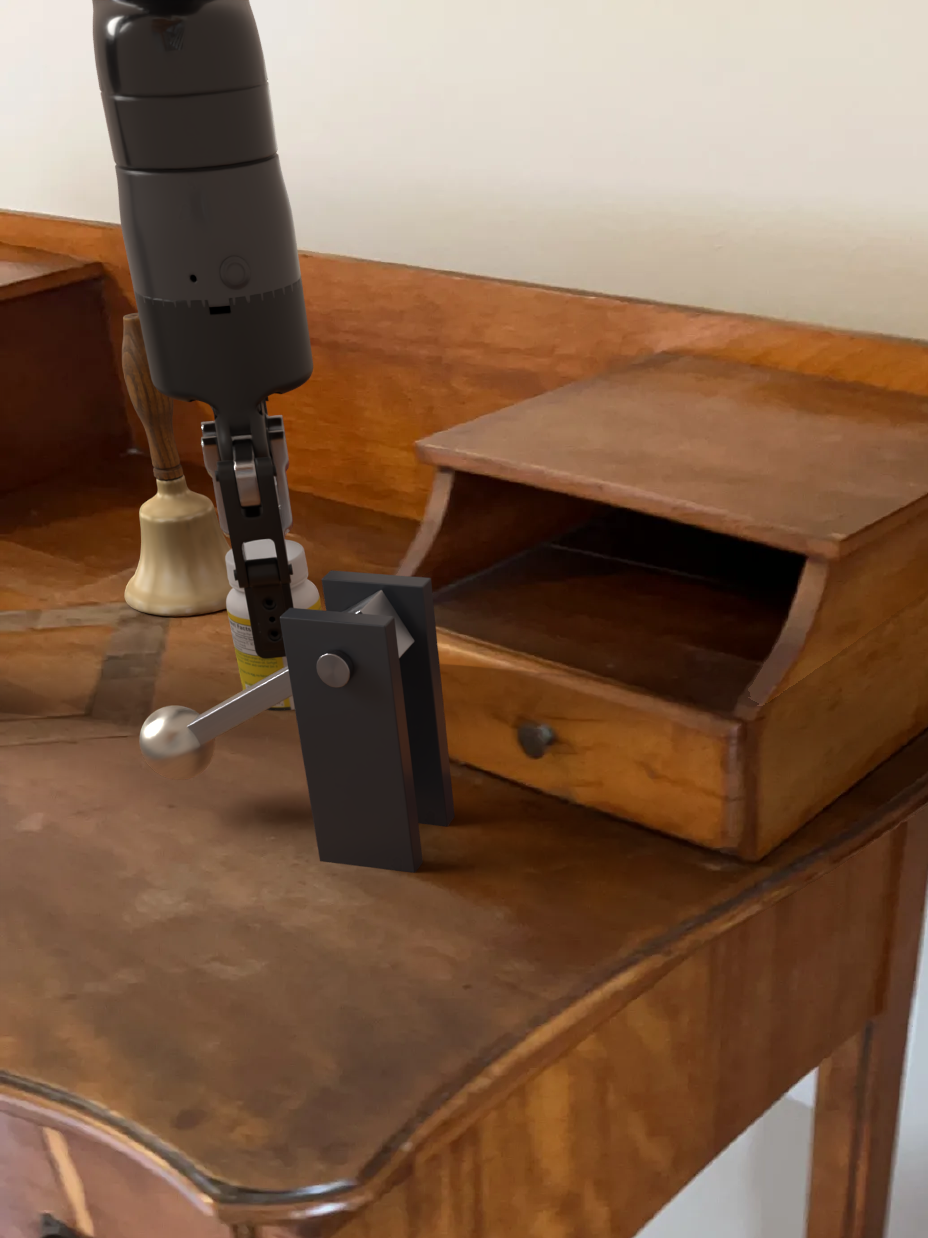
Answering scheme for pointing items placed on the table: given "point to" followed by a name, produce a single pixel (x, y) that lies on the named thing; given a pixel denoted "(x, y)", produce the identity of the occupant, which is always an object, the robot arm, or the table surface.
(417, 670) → the bracket
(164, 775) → the tap lever
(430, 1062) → the table surface
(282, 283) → the robot arm
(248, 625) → the supplement bottle
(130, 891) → the table surface
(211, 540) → the hand bell
